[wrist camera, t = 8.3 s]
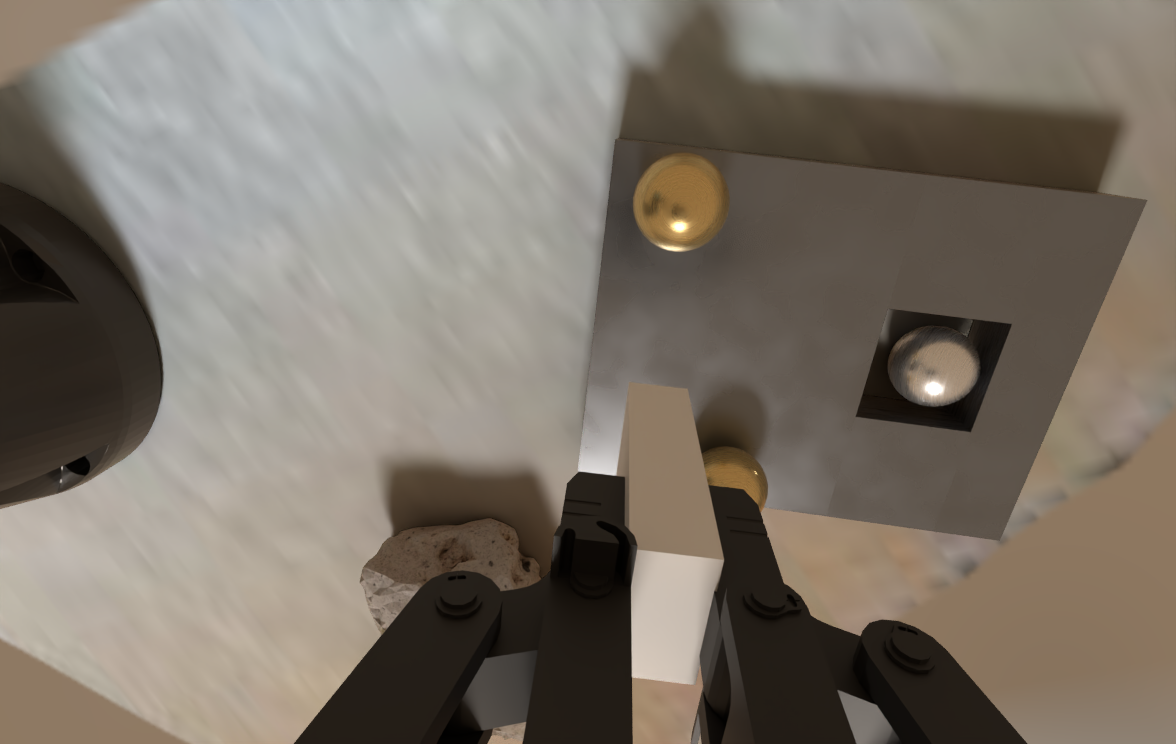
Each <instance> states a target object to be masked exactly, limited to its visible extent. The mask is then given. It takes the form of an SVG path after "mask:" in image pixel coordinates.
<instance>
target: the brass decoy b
mask: <svg viewBox="0 0 1176 744" xmlns="http://www.w3.org/2000/svg"><path fill="white" fill-rule="evenodd" d="M702 459H703V463H704V468H705V473H706V477H707V482H708V485H712V486H721V487H729V488H738V489H744V490H745V491H746V493H747V494H748V495H749V496H750V497H751V498H752V499H753V500H754V501H755V502H756V503H757V504H758V507H759V510H760V512H761V511H762V510H763V508H764V506H765V503H766V500H767V496H768V482H767V478H766V475H765V472H764V470H763V468H762V467H761V465H760V464H759V463H758V461H757V460H756V459H755V458H754V457H753V456H751V455H750V454H748V453H747V452H745V451H743V450H741V449H738V448H734V447H727V446H723V447H716V448H712V449H710V450H707V451H706V452H704V453H702Z"/></svg>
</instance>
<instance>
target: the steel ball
mask: <svg viewBox="0 0 1176 744" xmlns="http://www.w3.org/2000/svg"><path fill="white" fill-rule="evenodd" d="M979 373H980V359H979V355H978V352H977V350H976V348H975V347H974V345H973V344H972V342H971V341H970V340H969V339H968V338H967V337H966V336H964V335H963V334H961V333H960V332H958V331H956V330H954V329H951V328H948V327H943V326H925V327H920V328H917V329H914V330H912V331H910V332H908V333H907V334H905V335H904V336H903V337H901V338H900V339H899V340H898V341H897V342H896V344H895V345H894V346H893V348H892V350H891V352H890V355H889V358H888V374H889V378H890V380H891V382H892V384H893V386H894V387H895V389H896V390H897V391H898V392H899V393H900V394H901V395H902V396H903V397H905V398H906V399H908V400H909V401H911V402H914V403H916V404H920V405H923V406H932V407H935V406H944V405H948V404H951V403H954V402H956V401H958V400H960V399H961V398H963V397H964V396H965V395H967V394H968V393H969V392H970V391H971V389H972V388H973V387H974V385H975V384H976V382H977V379H978V377H979Z"/></svg>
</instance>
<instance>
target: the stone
mask: <svg viewBox="0 0 1176 744" xmlns="http://www.w3.org/2000/svg"><path fill="white" fill-rule="evenodd" d="M518 548H519V537H518V536H517V534H516V531H515V529H514V528H512V527H511V526H509V525H507V524H504V523H502V522H499V521H496V520H494V519H491V518H488V519H482V520H476V521H471V522H468V523H465V524H462V525H456V526H454V525H439V526H430V527H417V528H411V529H407V530H404V531H400V533H399V535H397V536H395V537H389V538H388V539H387V540H386V541H385V542H384V543H383V544H382V546H381V547H380V549H379V551H378V553H377V554H376V555H375V556H374V557H373V558H372V559H370V560H369V561H368V562H367V564H366V565H365V566H364V567H363V570H362V574H361V579H360V584H361V585H362V586H363V588H364V589H365V595H366V600H367V603H368V606H369V609H370V612H371V614H372V616H373V618H374V621H375V623H376V625H377V627H378V629H379V631H380V633H381V635H382V634H383V633H384V632H385V631H386V629H387V628H388V627H389V626H390V624H391V623H392V622H393V621H394V619H395V618H396V617H397V616H398V615H399V613H400V612H401V611H402V610H403V608H404V607H405V606H406V605H407V603H408V602H409V601H410V600H411V598H412V597H413V596H414V595H415V594H416V592H417V591H418V590H419V589H420V588H421V587H422V586H423V585H424V584H425V583H426V582H428V581H429V580H430V579H431V578H433V577H436V576H438V575H441V574H443V573H446V572H452V571H461V570H464V571H471V572H477V573H480V574H482V575H484V576H486V577H488V578H490V579H492V580H493V582H494V583H495V584H496V585H497V586H498V587H499V588H500V591H506V590H513V589H519V588H523V587H527V586H530V585H532V584H534V583H537V582H538V581H540V580H541V578H540V576H539V571H540V566H539V565H538V563H537V562H536V561H535V559H534V558H530V557H528V558H526V557H524V556H522V555H521V554H520V553H519V551H518ZM525 726H526V722H523V723H518V724H513V725H508V726H503V727H498V728H493V732H492V735H497V736H502V737H503V738H504V739H510V738H512V739H515V740H518V741H523V738H524V732H525ZM492 735H491V736H492Z"/></svg>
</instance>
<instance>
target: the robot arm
mask: <svg viewBox="0 0 1176 744" xmlns="http://www.w3.org/2000/svg"><path fill="white" fill-rule="evenodd" d="M160 392H161V372H160V363H159V357H158V352H157V347H156V344H155V340H154V337H153V334H152V331H151V328H150V325H149V323H148V321H147V318H146V316H145V314H144V312H143V310H142V308H141V306H140V304H139V302H138V300H137V298H136V296H135V295H134V293H133V291H132V289H131V288H130V286H129V285H128V283H127V282H126V280H125V279H124V277H123V276H122V275H121V273H120V272H119V271H118V269H117V268H116V267H115V265H114V264H113V263H112V262H111V261H110V259H109V258H108V257H107V256H106V255H105V254H104V253H103V251H102V250H101V249H100V248H99V247H98V246H97V245H96V244H95V243H94V242H93V241H92V240H91V239H90V238H89V237H88V236H87V235H86V234H84V233H83V232H82V231H81V230H80V229H79V228H78V227H76V226H75V225H74V224H73V223H71V222H70V221H69V220H68V219H66V218H65V217H64V216H62V215H61V214H59V213H58V212H57V211H55V210H54V209H52V208H51V207H49V206H47V205H46V204H44V203H42V202H41V201H39V200H37V199H35V198H33V197H32V196H30V195H28V194H26V193H24V192H21V191H19V190H17V189H15V188H12V187H10V186H7V185H5V184H2V183H0V509H2V508H6V507H9V506H13V505H17V504H21V503H24V502H28V501H32V500H35V499H39V498H43V497H47V496H50V495H54V494H58V493H61V492H64V491H67V490H70V489H72V488H75V487H77V486H79V485H81V484H83V483H86V482H88V481H89V480H91V479H93V478H94V477H96V476H97V475H99V474H100V473H102V472H104V471H105V470H107V469H108V468H110V467H112V466H113V465H115V464H116V463H118V462H119V461H121V460H123V459H124V458H126V457H127V456H128V455H129V454H131V453H132V452H133V451H134V450H135V449H136V448H137V447H138V446H139V445H140V444H141V442H142V441H143V440H144V438H145V437H146V435H147V434H148V432H149V430H150V428H151V427H152V424H153V422H154V419H155V417H156V413H157V410H158V406H159V401H160ZM700 665H701V673H702V680H703V689H702V693H701V698H700V702H699V706H698V710H697V714H696V719H695V723H694V727H693V731H692V738H691V744H698V741H699V737H700V733H701V741H702V744H1027V743H1026V742H1025V740H1024V739H1023V738H1022V737H1021V736H1020V735H1019V734H1018V732H1017V731H1016V730H1015V729H1014V728H1013V727H1012V725H1011V724H1010V723H1009V722H1008V721H1007V720H1006V718H1005V717H1004V716H1003V715H1002V714H1001V713H1000V711H999V710H998V709H997V708H996V707H995V706H994V704H993V703H992V702H991V701H990V700H989V699H988V698H987V696H986V695H985V694H984V693H983V692H982V691H981V689H980V688H979V687H978V686H977V685H976V684H975V682H974V681H973V680H972V679H971V678H970V677H969V676H968V675H967V674H966V672H965V671H964V670H963V669H962V668H961V666H960V665H959V664H958V663H957V662H956V660H955V659H954V658H953V657H952V656H951V655H950V654H949V653H948V651H947V650H946V649H945V648H943V646H941V645H940V644H939V643H938V642H937V641H936V640H935V639H934V638H933V637H931V636H929V635H928V634H926V633H924V632H922V631H921V630H919V629H917V628H916V627H913V626H911V625H907V624H905V623H902V622H899V621H892V620H878V621H875V622H871V623H869V624H868V625H867V626H866V628H865V629H864V630H863V631H862V634H861V636H858V635H855V634H853V633H850V632H847V631H844V630H841V629H839V628H836V627H833V626H830V625H828V624H826V623H824V622H821V621H819V620H817V619H816V618H814V617H812V616H811V615H810V612H809V610H808V607H807V606H806V604H805V603H804V601H803V599H802V598H801V596H800V595H799V594H797V593H796V592H795V591H794V590H793V589H792V588H790V587H789V586H788V585H786V584H784V583H783V579H782V576H781V573H780V570H779V567H778V564H777V561H776V558H775V555H774V552H773V549H772V546H771V543H770V540H769V537H767V531H766V528H765V525H764V524H763V519H762V516H761V513H760V510H759V507H758V504H757V503H756V502H755V501H754V500H753V499H752V498H751V497H750V496H749V495H748V494H747V493H746V491H745V490H744V489H738V488H729V487H721V486H712V485H708V482H707V477H706V473H705V468H704V463H703V459H702V454H701V449H700V445H699V440H698V435H697V431H696V426H695V421H694V417H693V412H692V407H691V403H690V398H689V393H688V389H685V388H677V387H668V386H659V385H651V384H642V383H633V382H629V386H628V393H627V400H626V407H625V415H624V422H623V429H622V436H621V444H620V451H619V458H618V465H617V473H616V476H614V475H606V474H597V473H589V472H580V471H579V472H578V473H577V474H576V475H575V476H574V477H573V478H572V479H571V480H570V481H569V482H568V483H567V488H566V494H565V501H564V506H563V513H562V518H561V524H560V526H559V527H558V529H557V531H556V533H555V535H554V540H553V551H552V561H551V570H550V571H549V573H548V574H547V575H546V576H545V577H544V578H542V579H541V580H540V581H538V582H537V583H534V584H532V585H530V586H527V587H523V588H519V589H513V590H506V591H500V588H499V587H498V586H497V585H496V584H495V583H494V582H493V580H492V579H490V578H488V577H486V576H484V575H482V574H480V573H477V572H471V571H464V570H461V571H452V572H446V573H443V574H441V575H438V576H436V577H433V578H431V579H430V580H429V581H428V582H426V583H425V584H424V585H423V586H422V587H421V588H420V589H419V590H418V591H417V592H416V594H415V595H414V596H413V597H412V598H411V600H410V601H409V602H408V603H407V605H406V606H405V607H404V608H403V610H402V611H401V612H400V613H399V615H398V616H397V617H396V618H395V619H394V621H393V622H392V623H391V624H390V626H389V627H388V628H387V629H386V631H385V632H384V633H383V634H382V635H381V637H380V638H379V639H378V640H377V642H376V643H375V644H374V645H373V647H372V648H371V649H370V650H369V652H368V653H367V654H366V655H365V656H364V658H363V659H362V660H361V661H360V663H359V664H358V665H357V666H356V668H355V669H354V670H353V671H352V672H351V674H350V675H349V676H348V677H347V679H346V680H345V681H344V682H343V684H342V685H341V686H340V687H339V689H338V690H337V691H336V692H335V693H334V695H333V696H332V697H331V698H330V700H329V701H328V702H327V703H326V705H325V706H324V707H323V708H322V709H321V711H320V712H319V713H318V714H317V716H316V717H315V718H314V719H313V721H312V722H311V723H310V724H309V725H308V727H307V728H306V729H305V730H304V732H303V733H302V734H301V735H300V737H299V738H298V739H297V740H296V742H295V743H294V744H487V743H488V741H489V739H490V737H491V735H492V732H493V728H498V727H503V726H508V725H513V724H518V723H523V722H526V726H525V732H524V738H523V744H633V736H632V677H634V678H642V679H650V680H658V681H666V682H675V683H683V684H691V685H695V684H696V680H697V675H698V671H699V667H700Z"/></svg>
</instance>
